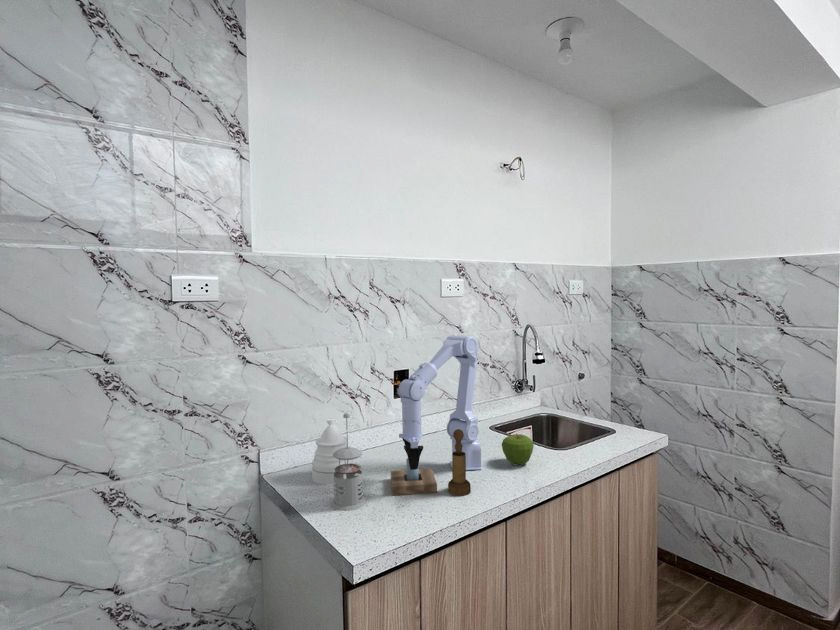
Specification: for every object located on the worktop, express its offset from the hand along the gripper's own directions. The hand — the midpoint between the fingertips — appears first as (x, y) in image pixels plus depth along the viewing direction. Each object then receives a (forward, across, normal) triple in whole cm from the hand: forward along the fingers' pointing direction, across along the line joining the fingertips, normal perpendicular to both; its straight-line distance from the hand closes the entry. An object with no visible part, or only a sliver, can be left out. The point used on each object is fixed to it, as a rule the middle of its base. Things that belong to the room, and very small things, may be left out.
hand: (412, 464), depth 131 cm
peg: (+6, 0, 0) cm, 6 cm away
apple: (+7, -13, +37) cm, 40 cm away
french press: (+6, +8, -19) cm, 22 cm away
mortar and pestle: (+7, +6, +13) cm, 16 cm away
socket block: (+6, 0, 0) cm, 6 cm away
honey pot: (+7, -11, -25) cm, 28 cm away
